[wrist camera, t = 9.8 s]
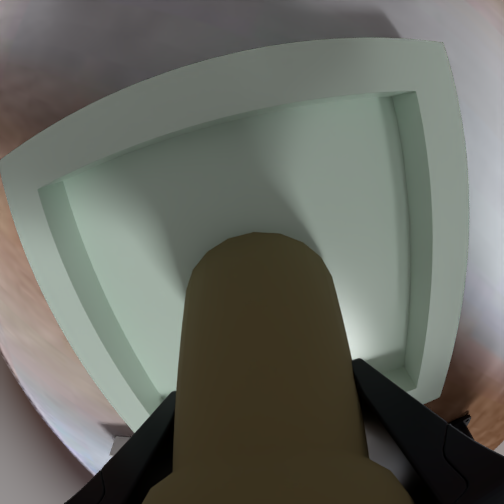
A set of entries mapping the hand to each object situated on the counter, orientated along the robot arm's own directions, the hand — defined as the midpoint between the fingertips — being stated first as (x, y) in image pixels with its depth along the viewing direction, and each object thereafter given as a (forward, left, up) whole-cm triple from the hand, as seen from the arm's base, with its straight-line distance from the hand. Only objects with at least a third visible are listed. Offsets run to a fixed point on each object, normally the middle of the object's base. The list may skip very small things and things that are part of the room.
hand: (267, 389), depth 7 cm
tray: (0, 0, -6) cm, 6 cm away
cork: (0, 0, -5) cm, 5 cm away
